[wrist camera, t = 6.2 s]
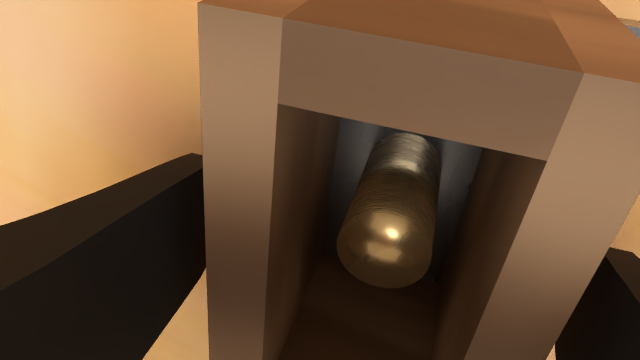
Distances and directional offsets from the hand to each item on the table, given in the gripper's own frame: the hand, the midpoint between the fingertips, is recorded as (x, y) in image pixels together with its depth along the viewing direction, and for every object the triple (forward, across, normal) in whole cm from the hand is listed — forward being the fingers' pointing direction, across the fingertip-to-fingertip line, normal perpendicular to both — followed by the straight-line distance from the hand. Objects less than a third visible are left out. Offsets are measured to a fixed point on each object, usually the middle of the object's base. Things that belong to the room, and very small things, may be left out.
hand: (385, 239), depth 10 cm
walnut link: (+3, 0, 0) cm, 3 cm away
